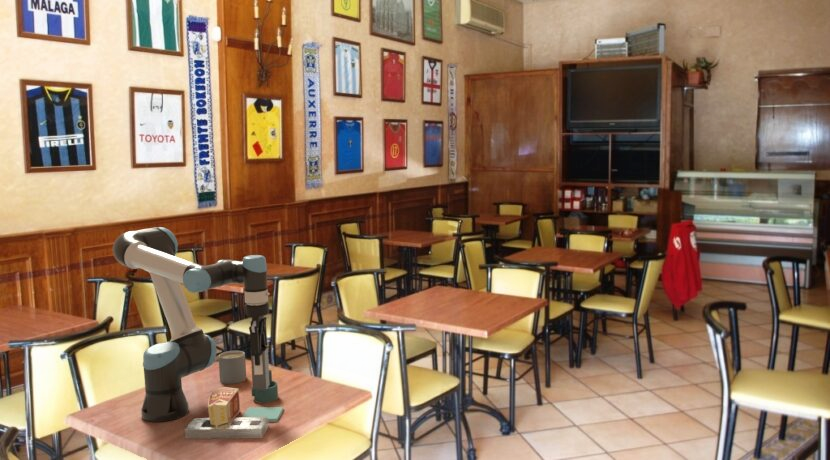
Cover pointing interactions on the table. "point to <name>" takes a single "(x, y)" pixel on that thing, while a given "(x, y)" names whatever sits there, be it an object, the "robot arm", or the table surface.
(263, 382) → the grey rectangular block
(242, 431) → the rail
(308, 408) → the table surface
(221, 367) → the coffee mug
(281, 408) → the teal pad
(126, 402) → the table surface
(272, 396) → the bracket
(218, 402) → the milk carton
